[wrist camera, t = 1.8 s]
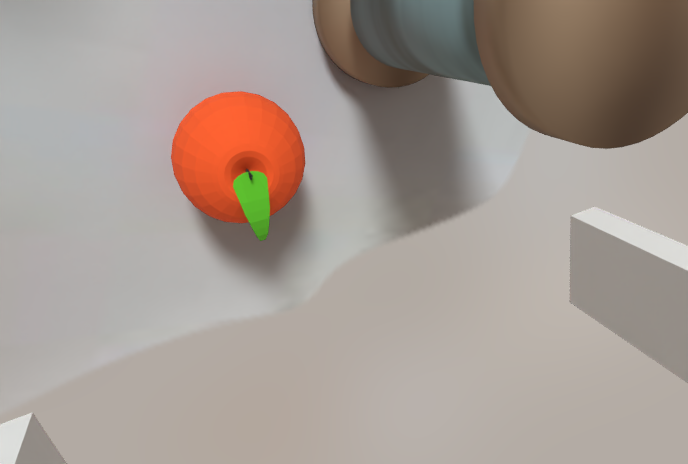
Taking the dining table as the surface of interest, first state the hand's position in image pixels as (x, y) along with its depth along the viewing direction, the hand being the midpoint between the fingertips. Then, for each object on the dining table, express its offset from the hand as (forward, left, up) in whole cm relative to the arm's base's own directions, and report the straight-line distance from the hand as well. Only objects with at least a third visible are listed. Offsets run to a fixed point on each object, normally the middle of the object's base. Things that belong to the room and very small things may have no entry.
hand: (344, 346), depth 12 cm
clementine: (0, 0, -20) cm, 20 cm away
